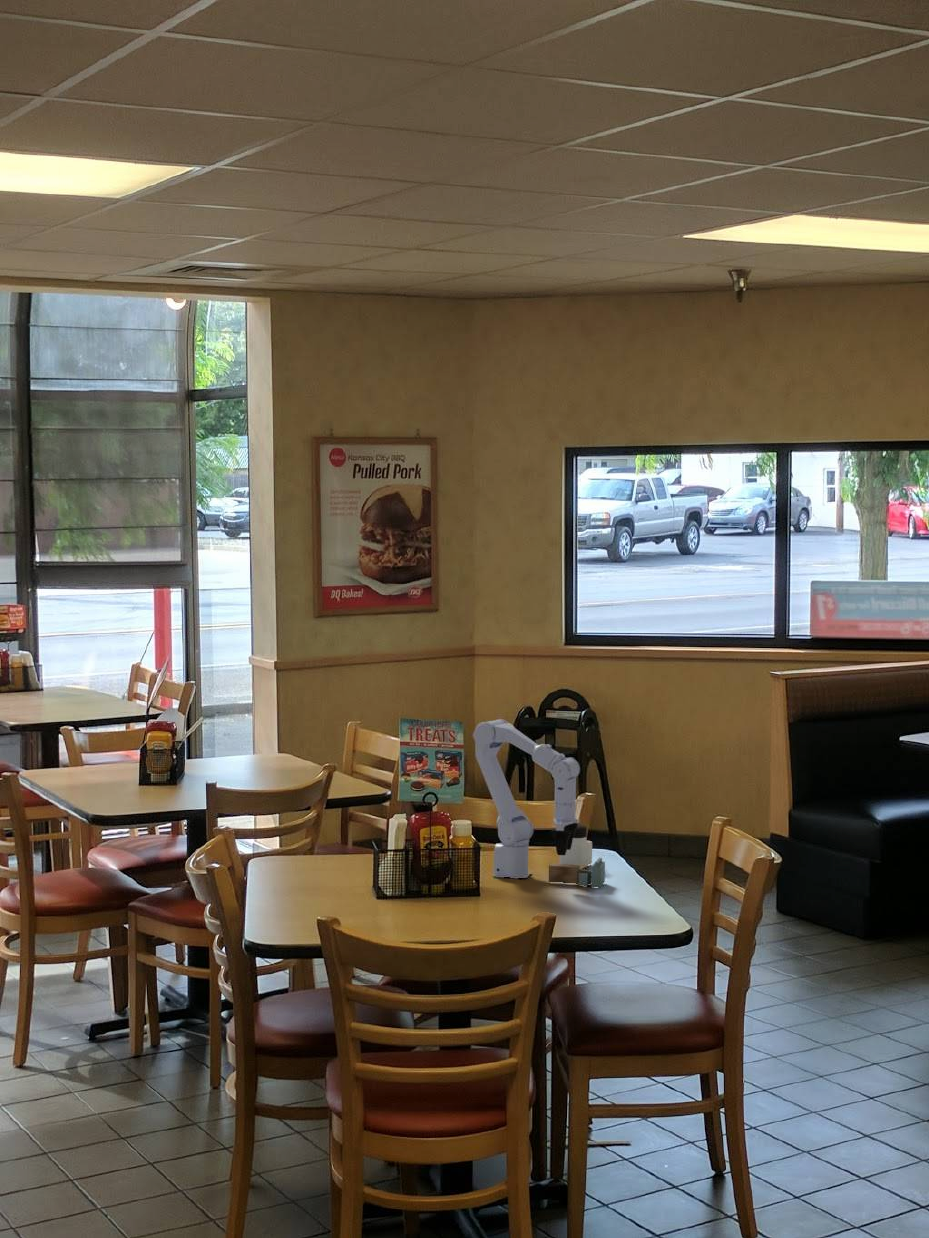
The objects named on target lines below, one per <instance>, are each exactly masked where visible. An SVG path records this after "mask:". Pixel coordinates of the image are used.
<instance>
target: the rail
mask: <svg viewBox="0 0 929 1238" xmlns="http://www.w3.org/2000/svg"><path fill="white" fill-rule="evenodd" d="M579 873H586V874H588V884H591V883H592V869H591V870H590V869H581V870H580V865H569V864H559V863H554V862H553V863H550V864H549V865H548V883H549V882H563V883H576V884H578V883H579ZM591 885H592V884H591Z"/></svg>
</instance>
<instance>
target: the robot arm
mask: <svg viewBox="0 0 929 1238" xmlns="http://www.w3.org/2000/svg"><path fill="white" fill-rule="evenodd" d="M472 738H473V740H474V743H475V744H474V745H475V758H476V760H477V761H476V762H478V766H479V768H480V771H481V773H482V775H483V779H484V781H485V783H486V785H487V788H488V791H489V793H490V795H491V798H492V800H493V803H494V806H495V807H496V811H497V813H498V817H497V820H496V823H495V824H496V826H497V836H498V838H499V840H500V841H501V842H499V843H497V842H496V844H495V846H494V851H493V875H492V877H493V876H495V877H494V878H504V877H510V878H509V879H518V878H527V877H528V876H529V875H530V873H529V874H528V871H529V848H530V847H529V845H530V844H529V843H530V839H531V838H532V836H533V835H534V825H533V824H532V822H531V820H530V819H529V818H528V817H527V816H526V813H525V812H524V810H521V809H520V808H519V807H518V806H517V804H516V801H515V798H514V796H513V794H512V792H511V789H510V787H509V784H508V782H507V780H506V776H505V775H504V772H503V770H502V767H501V765H500V762H499V760H498V759H499V758H498V757H497V755H498V753H499V750H500V749H501V747H502V746H503V744H504V743H509V744H511V745H513V746H515V747H516V748H518V749H520V750H521V751H524V752H525V753H528V754H529V756H530V755H531V759H532V761H533V762H534V763H535V764H536V765H538V766H540V767H541V768H543V769H544V770H546V771H547V772H549V773H550V774H551V776H552V778H553V780H554V806H553V807H554V812H553V813H554V814H553V816H554V817H553V823H555V828H554V827H553V828H550V834H551V836H552V837H553V840H554V841H553V842H554V844H555V849H556V854H557V856H559V855H565V854H566V850H570V849H571V846H572V841H573V836H574V833H575V830H576V828H577V826H578V824H579V823H580V818H576V802H577V801H576V799H577V798H576V797H577V794H576V793H577V792H576V791H577V789H576V788H577V777H578V776H579V774H580V772H581V767H580V766H581V765H580V764H579V762H578V761H577V760H576V759H575V758H574V757H571V756H570V757H566V756H565V754H564V753H559V752H558V751H557V750H555V749H553V748H552V747H553V746H552V744H549V743H547V744H546V743H541V744H538V743H536V742H535V741H534V740H532V739H531V738H530V737H528V736H526V734H524V733H522V732H521V731H520V730H518V729H517V728H516V727H515V726H514V725H513V724H512V723H509V722H508V721H507V720H505V719H502V718H499V719H498V718H497V719H495V720H489V721H482V722H479V723H478V724H477V725H476V727H475V729H474V731H473V734H472ZM530 876H531V875H530ZM530 876H529V877H530ZM515 877H517V878H515ZM529 877H528V878H529ZM528 878H527V879H528Z"/></svg>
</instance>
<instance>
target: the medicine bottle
mask: <svg viewBox="0 0 929 1238" xmlns="http://www.w3.org/2000/svg"><path fill="white" fill-rule="evenodd" d="M587 829H588V828H587V826H585V825H584V824H579V823H578V826H577V828H576V830H575V833H574V836H573V841H572V846H571V849H570V850H566V854H565V855H558V857H559V860H558V861H559V863H558V864H569V865H580V867H583V866H585V865H588V864H591V863H592V864H593V841H590V840H587V832H588V831H587Z"/></svg>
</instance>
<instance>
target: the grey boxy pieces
mask: <svg viewBox="0 0 929 1238" xmlns="http://www.w3.org/2000/svg"><path fill="white" fill-rule="evenodd" d="M591 870H592V884H591V888H592V887H598V888H601V887H602V888H603V886H604V885H603V883H604V882H605V883H606V881H605V880H606V878H605V877H606V875H605V874H606V861H603V857H598V859H597V860H595V862H594V863H592V865H591ZM578 885H584V886H587V885H588V874H586V873H579V884H578ZM602 885H603V886H602ZM602 888H601V889H602Z"/></svg>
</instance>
